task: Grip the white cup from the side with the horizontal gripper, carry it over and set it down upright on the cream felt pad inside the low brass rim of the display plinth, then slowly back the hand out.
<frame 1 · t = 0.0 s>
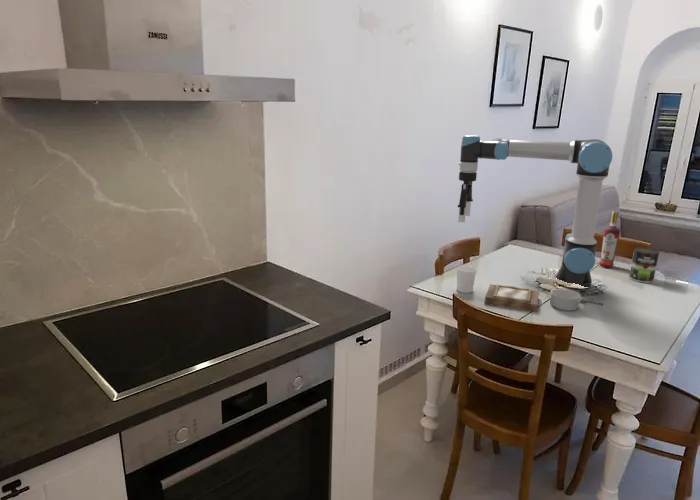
hand: (464, 218, 230), 28 cm above the table, tool pointing down, fingers open, 13 cm apart
display plinth: (511, 300, 212), on the table
liquor: (605, 266, 258), on the table
white cup: (464, 290, 223), on the table
coffee can: (641, 279, 241), on the table
saucepan: (574, 310, 205), on the table
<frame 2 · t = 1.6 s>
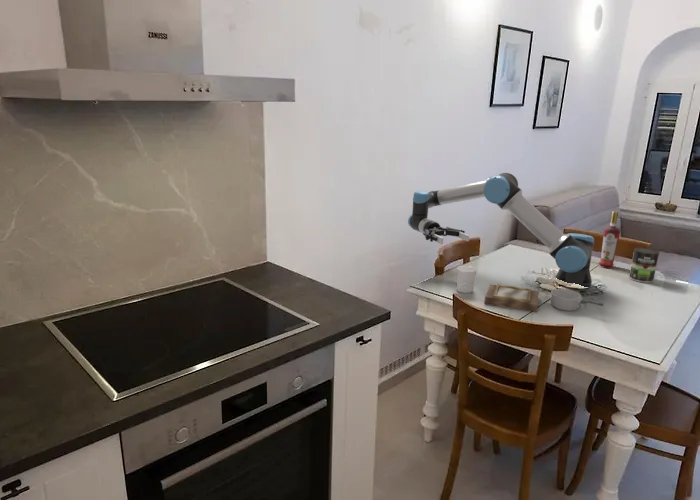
hand: (455, 239, 225), 20 cm above the table, tool horizontal, fingers open, 13 cm apart
nothing on the table moved.
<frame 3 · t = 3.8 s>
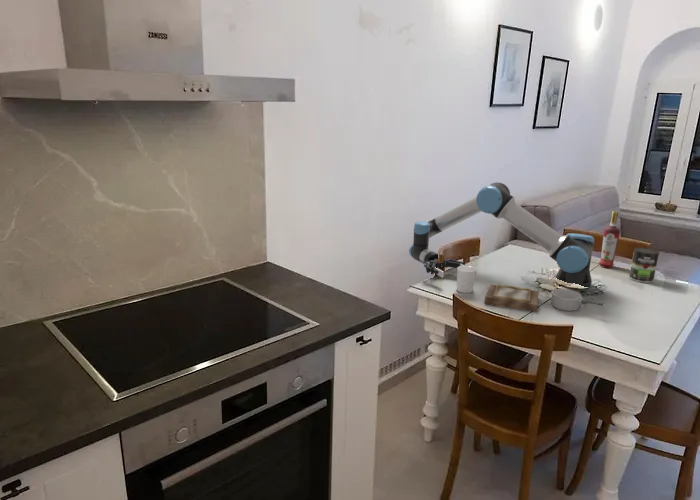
hand: (456, 272, 227), 6 cm above the table, tool horizontal, fingers open, 13 cm apart
nothing on the table moved.
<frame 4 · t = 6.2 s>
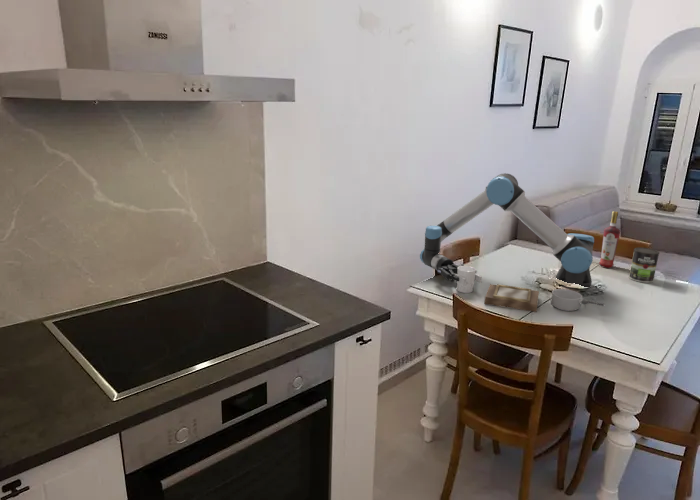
hand: (472, 280, 217), 6 cm above the table, tool horizontal, fingers closed on white cup, 8 cm apart
white cup: (464, 290, 223), on the table, touching gripper
everything else where it was.
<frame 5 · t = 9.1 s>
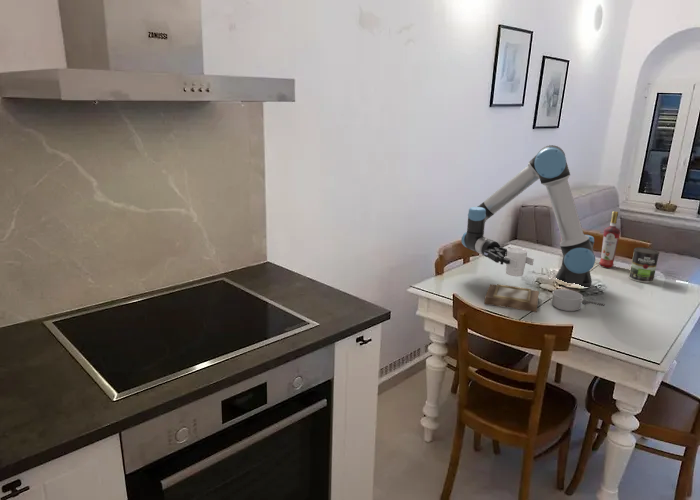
hand: (524, 263, 203), 18 cm above the table, tool horizontal, fingers closed on white cup, 8 cm apart
white cup: (514, 274, 209), point 12 cm above the table, touching gripper
everything else where it was.
when the fingers open (10 cm above the table, at t = 12.2 s): white cup stays where it is, resting on display plinth.
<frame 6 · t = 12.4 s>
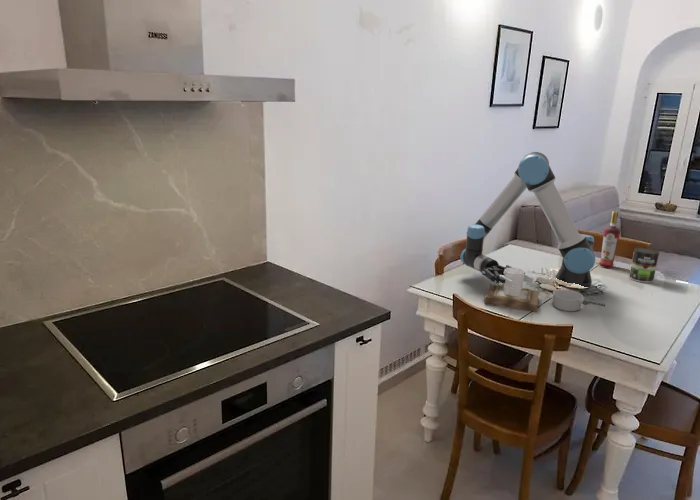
hand: (521, 282, 205), 10 cm above the table, tool horizontal, fingers open, 9 cm apart
white cup: (512, 293, 211), point 3 cm above the table, touching display plinth
everything else where it was.
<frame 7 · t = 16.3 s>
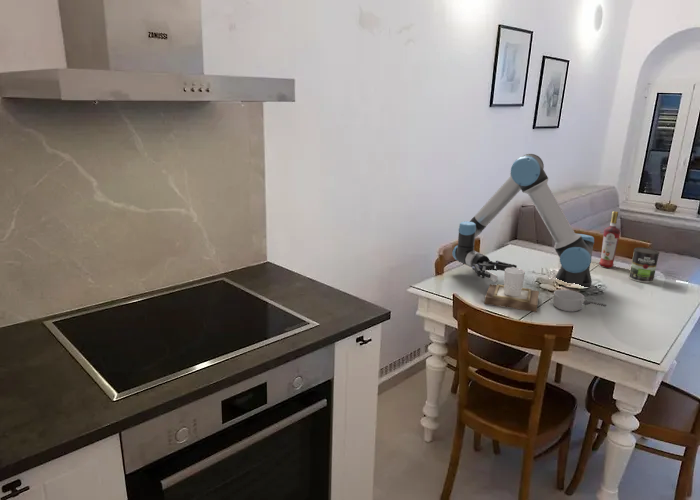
hand: (509, 276, 212), 10 cm above the table, tool horizontal, fingers open, 13 cm apart
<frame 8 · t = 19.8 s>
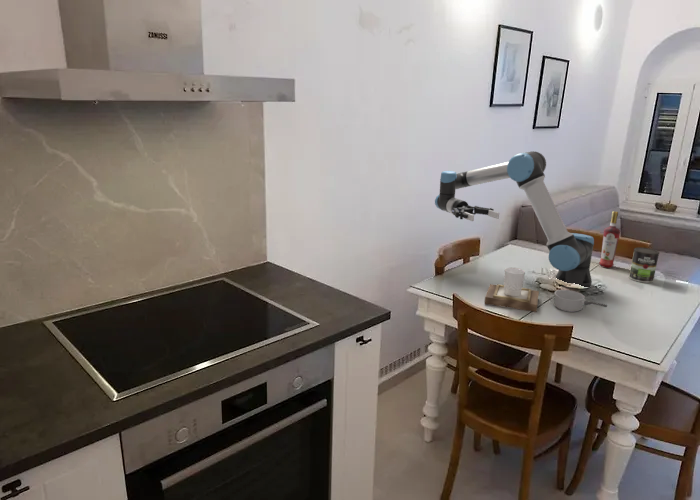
hand: (485, 217, 225), 30 cm above the table, tool horizontal, fingers open, 13 cm apart
at the end: white cup inside the target area on the display plinth (0.1 cm from its centre), point 3.0 cm above the display plinth's base; white cup tilted 0°; the gripper is holding nothing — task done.
